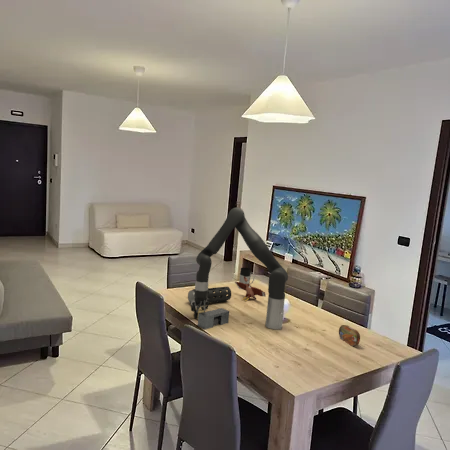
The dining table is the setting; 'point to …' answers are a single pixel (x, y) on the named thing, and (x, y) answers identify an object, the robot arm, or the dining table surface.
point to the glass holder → (245, 275)
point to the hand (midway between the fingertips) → (199, 317)
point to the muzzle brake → (213, 294)
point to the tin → (349, 335)
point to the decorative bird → (250, 290)
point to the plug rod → (214, 317)
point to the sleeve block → (208, 318)
